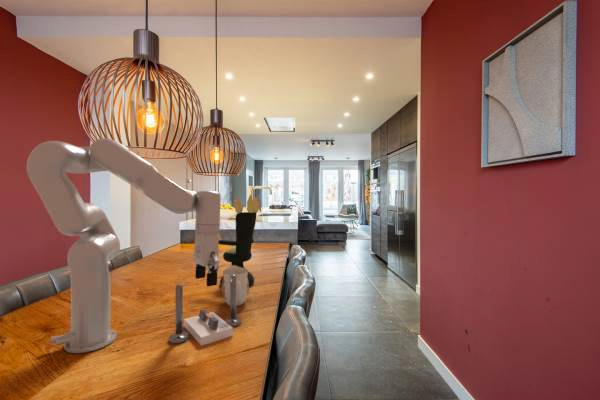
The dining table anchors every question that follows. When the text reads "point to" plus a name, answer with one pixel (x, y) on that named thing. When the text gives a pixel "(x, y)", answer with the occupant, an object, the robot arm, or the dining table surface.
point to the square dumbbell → (212, 320)
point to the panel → (207, 329)
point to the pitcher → (241, 284)
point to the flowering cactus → (242, 236)
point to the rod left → (178, 318)
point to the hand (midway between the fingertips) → (205, 281)
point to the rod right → (233, 304)
